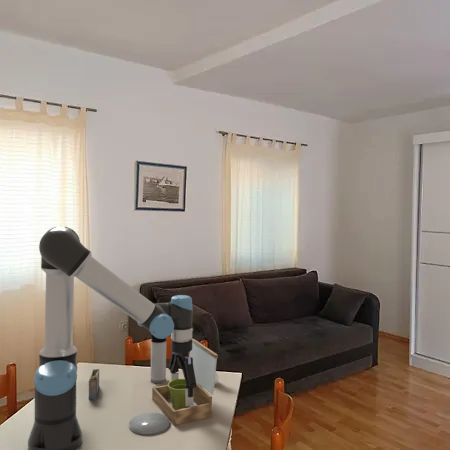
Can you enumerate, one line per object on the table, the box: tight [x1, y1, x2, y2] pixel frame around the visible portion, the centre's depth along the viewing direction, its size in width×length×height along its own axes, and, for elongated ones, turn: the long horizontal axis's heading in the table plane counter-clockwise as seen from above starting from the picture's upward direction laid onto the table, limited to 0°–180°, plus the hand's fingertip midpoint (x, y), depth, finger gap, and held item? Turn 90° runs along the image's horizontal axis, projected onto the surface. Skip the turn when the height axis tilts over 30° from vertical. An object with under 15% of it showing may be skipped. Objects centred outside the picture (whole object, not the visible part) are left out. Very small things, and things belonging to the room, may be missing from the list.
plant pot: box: [167, 378, 190, 410], centre depth 157 cm, size 9×9×9 cm
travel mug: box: [150, 333, 167, 384], centre depth 181 cm, size 6×7×20 cm
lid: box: [188, 338, 219, 396], centre depth 161 cm, size 14×21×1 cm
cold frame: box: [151, 383, 213, 426], centre depth 157 cm, size 14×22×7 cm, turn 28°
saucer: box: [128, 412, 170, 436], centre depth 145 cm, size 13×13×1 cm
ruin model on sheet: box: [88, 368, 100, 400], centre depth 168 cm, size 11×3×10 cm, turn 10°
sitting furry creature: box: [196, 371, 220, 387], centre depth 180 cm, size 10×9×12 cm
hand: (181, 397), depth 157 cm, fingers open, 13 cm apart
